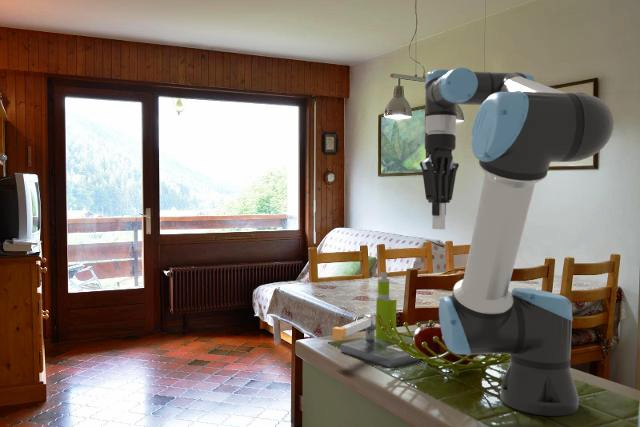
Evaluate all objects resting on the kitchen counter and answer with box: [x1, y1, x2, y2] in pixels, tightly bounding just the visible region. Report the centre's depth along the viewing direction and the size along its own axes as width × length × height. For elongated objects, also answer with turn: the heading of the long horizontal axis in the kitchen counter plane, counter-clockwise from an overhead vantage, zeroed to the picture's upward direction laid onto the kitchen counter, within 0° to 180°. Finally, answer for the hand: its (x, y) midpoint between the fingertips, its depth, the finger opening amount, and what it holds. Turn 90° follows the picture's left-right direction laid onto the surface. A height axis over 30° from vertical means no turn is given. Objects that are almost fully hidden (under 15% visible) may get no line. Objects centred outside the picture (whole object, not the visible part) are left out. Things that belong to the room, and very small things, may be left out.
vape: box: [375, 271, 397, 344], centre depth 167 cm, size 4×6×20 cm, turn 48°
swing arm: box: [332, 313, 376, 341], centre depth 154 cm, size 20×3×4 cm, turn 148°
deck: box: [340, 329, 419, 369], centre depth 154 cm, size 18×12×5 cm, turn 40°
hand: (438, 228), depth 147 cm, fingers closed
